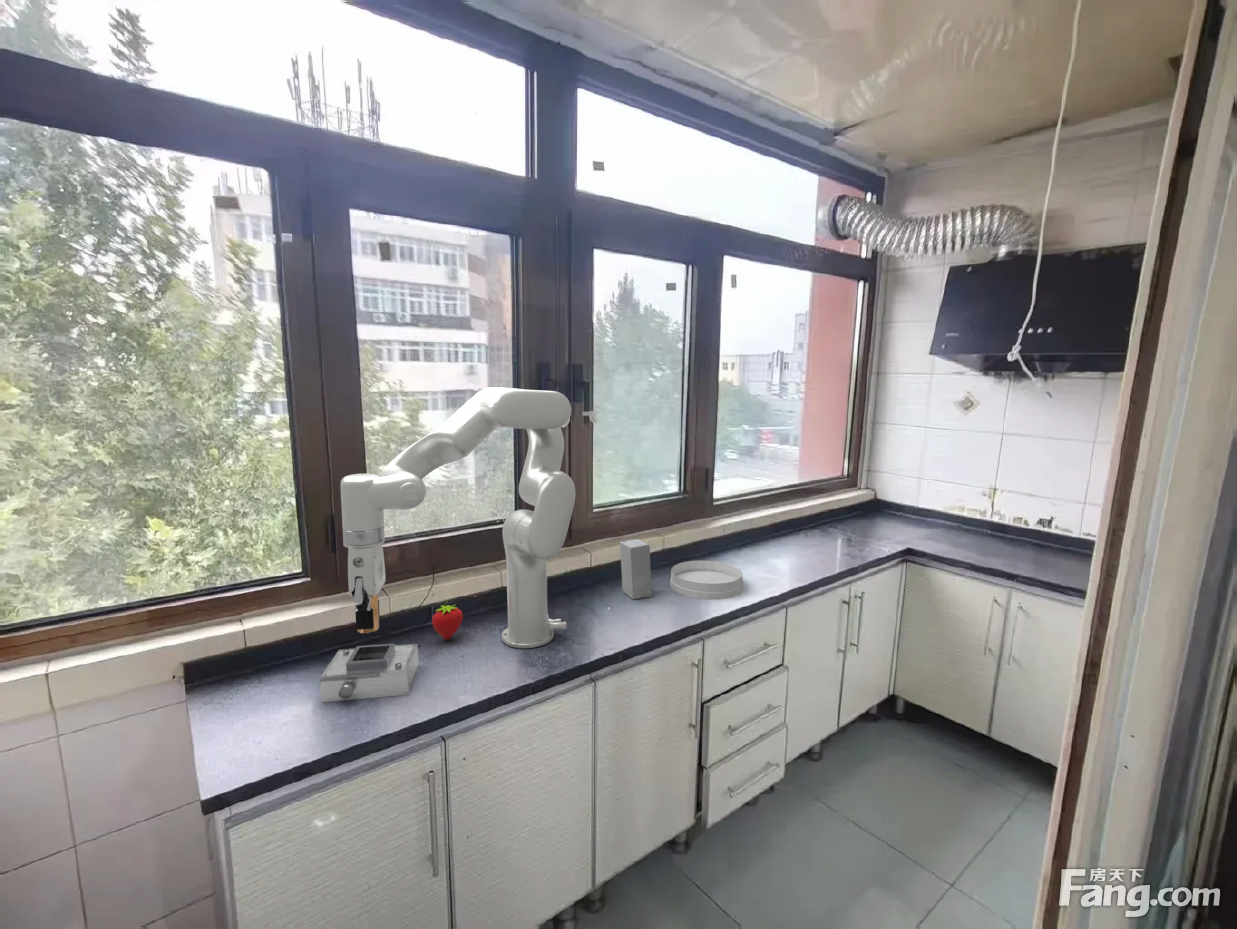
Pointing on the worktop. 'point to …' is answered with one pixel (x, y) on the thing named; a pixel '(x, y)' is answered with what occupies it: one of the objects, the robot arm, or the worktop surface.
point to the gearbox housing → (370, 672)
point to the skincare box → (636, 568)
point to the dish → (706, 579)
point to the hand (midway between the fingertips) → (368, 622)
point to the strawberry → (447, 620)
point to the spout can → (375, 613)
